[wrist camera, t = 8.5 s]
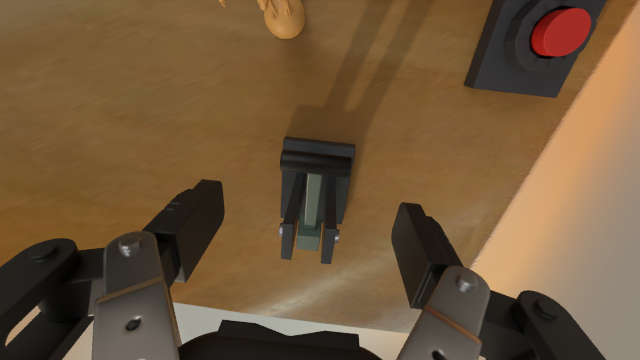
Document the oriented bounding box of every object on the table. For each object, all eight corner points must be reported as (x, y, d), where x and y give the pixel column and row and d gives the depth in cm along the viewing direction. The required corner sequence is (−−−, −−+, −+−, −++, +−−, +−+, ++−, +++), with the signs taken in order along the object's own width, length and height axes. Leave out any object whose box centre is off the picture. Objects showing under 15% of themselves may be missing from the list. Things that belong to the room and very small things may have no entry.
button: (542, 7, 23) (557, 5, 21) (582, 12, 23) (600, 10, 21) (523, 53, 24) (535, 53, 23) (560, 57, 24) (575, 58, 23)
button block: (506, -39, 24) (536, -52, 21) (601, -27, 24) (647, -39, 21) (463, 85, 29) (481, 91, 26) (541, 94, 29) (570, 101, 26)
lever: (284, 140, 19) (278, 163, 17) (352, 148, 19) (352, 172, 17) (286, 227, 28) (283, 247, 27) (332, 232, 28) (331, 252, 27)
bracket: (285, 136, 33) (260, 185, 22) (354, 144, 33) (366, 197, 22) (281, 213, 39) (260, 283, 28) (341, 219, 39) (345, 292, 28)
